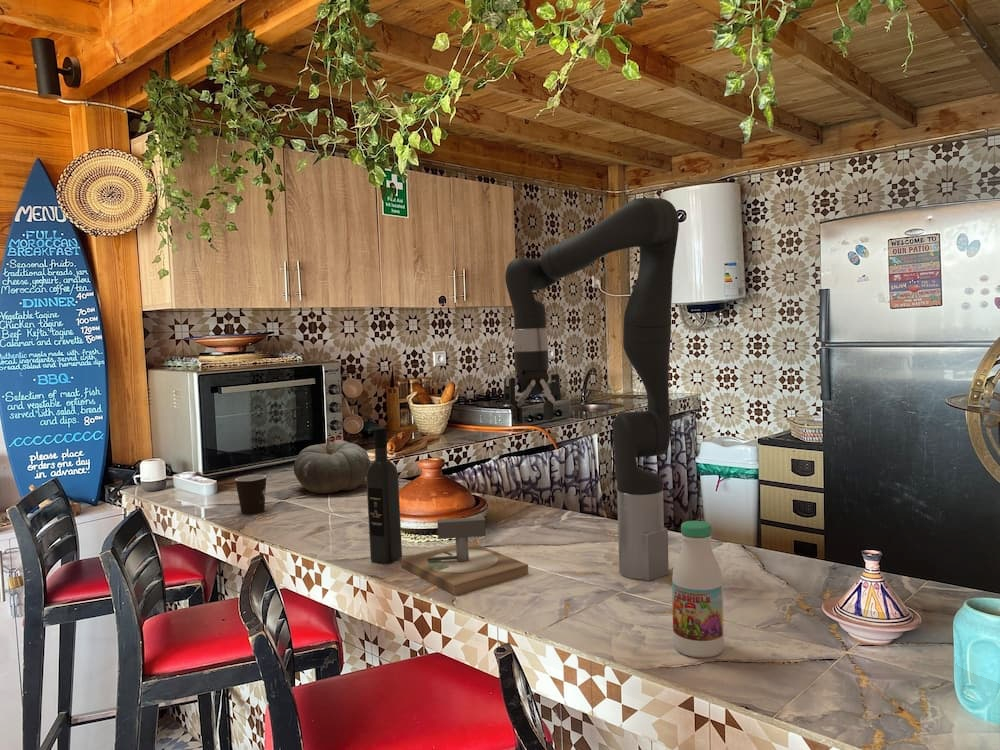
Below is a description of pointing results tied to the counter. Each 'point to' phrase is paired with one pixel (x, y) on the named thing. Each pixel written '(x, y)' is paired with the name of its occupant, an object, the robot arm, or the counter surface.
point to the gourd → (331, 467)
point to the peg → (459, 535)
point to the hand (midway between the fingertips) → (533, 421)
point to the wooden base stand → (464, 568)
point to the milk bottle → (697, 594)
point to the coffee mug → (251, 493)
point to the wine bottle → (383, 504)
